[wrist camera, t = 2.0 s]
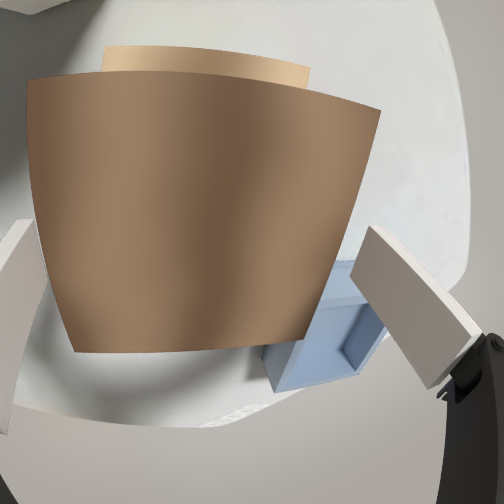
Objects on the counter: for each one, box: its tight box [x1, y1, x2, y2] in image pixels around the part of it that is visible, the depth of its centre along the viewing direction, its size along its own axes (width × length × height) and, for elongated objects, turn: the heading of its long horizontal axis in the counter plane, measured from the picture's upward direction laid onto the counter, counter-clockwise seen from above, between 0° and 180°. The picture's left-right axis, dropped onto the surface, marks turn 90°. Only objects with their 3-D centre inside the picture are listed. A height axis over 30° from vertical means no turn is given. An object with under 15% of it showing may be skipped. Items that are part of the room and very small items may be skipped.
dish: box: [261, 260, 388, 393], centre depth 24 cm, size 9×11×4 cm
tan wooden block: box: [102, 46, 311, 89], centre depth 14 cm, size 8×14×4 cm, turn 170°
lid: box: [27, 71, 381, 353], centre depth 12 cm, size 12×12×2 cm
